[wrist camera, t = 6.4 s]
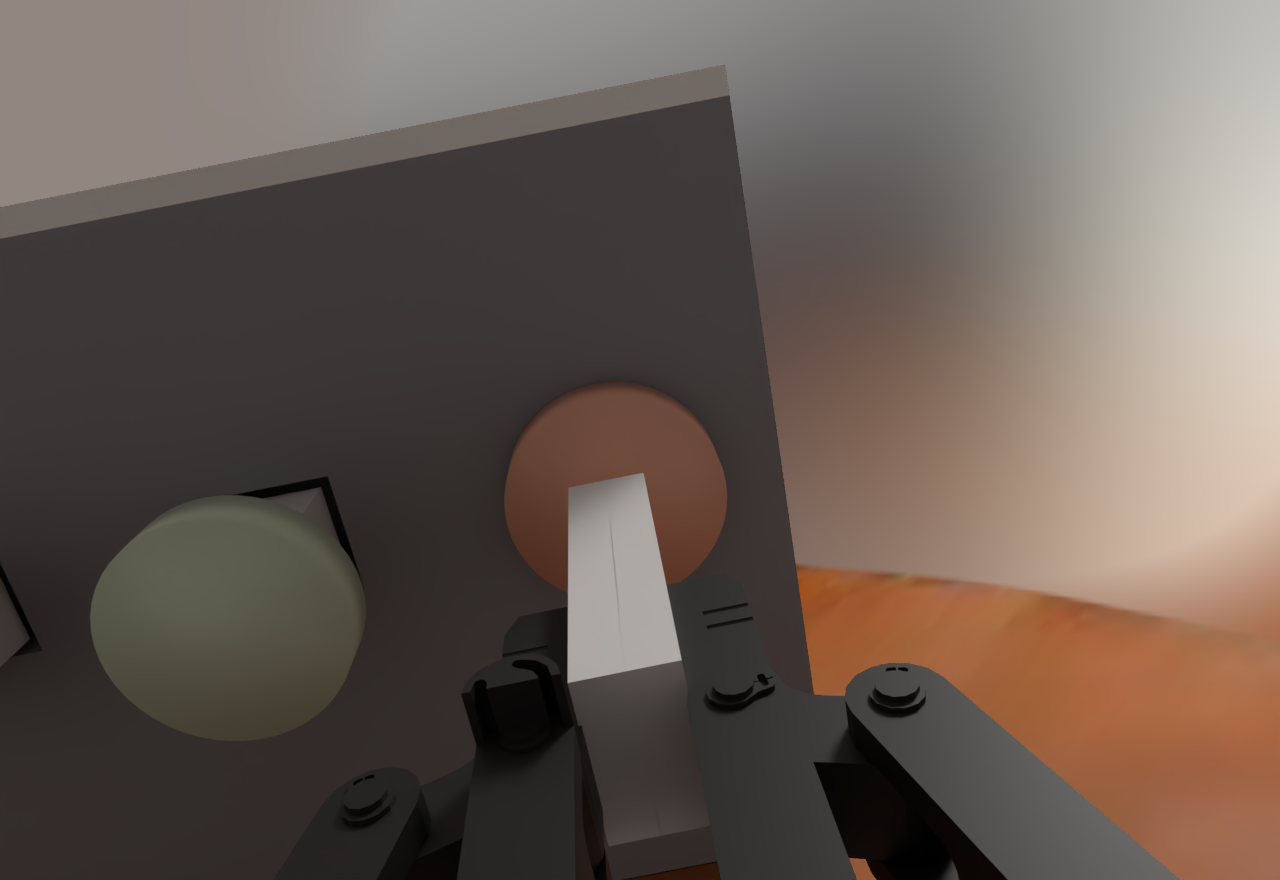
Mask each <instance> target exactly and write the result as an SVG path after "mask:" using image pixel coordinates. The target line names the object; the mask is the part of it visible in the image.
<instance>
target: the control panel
mask: <svg viewBox="0 0 1280 880" xmlns="http://www.w3.org/2000/svg"><path fill="white" fill-rule="evenodd" d="M602 382H629V383H637V384H641V385H645V386H649V387H652V388H654V389H657V390H659V391H662V392H664V393H666V394H668V395H669V396H671V397H673V398H675V399H676V400H678V401H679V402H680V403H682V404H683V405H684V406H686V407H687V408H688V409H689V410H690V411H691V412H692V413H693V414H694V415H695V416H696V417H697V419H698V420H699V421H700V422H701V424H702V425H703V426H704V428H705V430H706V431H707V433H708V435H709V437H710V438H711V441H712V443H713V446H714V448H715V451H716V453H717V456H718V458H719V461H720V463H721V466H722V468H723V472H724V476H725V480H726V487H727V509H726V515H725V520H724V524H723V527H722V530H721V532H720V535H719V537H718V539H717V541H716V543H715V545H714V547H713V549H712V550H711V552H710V553H709V554H708V556H707V557H706V559H705V560H704V561H703V562H702V563H701V564H700V565H699V567H698V568H697V569H696V570H694V571H693V572H692V573H691V574H690V575H689V576H688V577H686V578H685V579H684V580H682V581H687V580H692V579H697V578H702V577H707V576H712V575H717V574H722V573H725V574H726V575H727V576H729V577H730V578H732V579H733V580H734V581H736V582H737V583H739V584H740V585H741V586H742V588H743V591H744V594H745V596H746V599H747V602H748V606H749V607H750V610H751V613H752V616H753V620H754V621H755V624H756V627H757V629H758V632H759V635H760V638H761V640H762V643H763V646H764V649H765V651H766V654H767V657H768V660H769V662H770V665H771V668H772V670H773V671H774V672H776V673H777V674H778V676H779V677H780V678H781V680H782V681H783V682H784V684H785V685H786V686H788V687H790V688H792V689H795V690H797V691H800V692H804V693H808V694H813V695H814V692H813V685H812V678H811V671H810V664H809V656H808V649H807V642H806V635H805V628H804V621H803V614H802V607H801V600H800V593H799V586H798V578H797V571H796V564H795V558H794V551H793V543H792V536H791V529H790V522H789V515H788V507H787V501H786V493H785V487H784V479H783V472H782V465H781V458H780V451H779V444H778V437H777V429H776V422H775V415H774V408H773V401H772V394H771V387H770V380H769V374H768V366H767V359H766V351H765V344H764V337H763V330H762V323H761V316H760V309H759V302H758V295H757V288H756V280H755V274H754V266H753V259H752V252H751V245H750V238H749V231H748V224H747V217H746V210H745V202H744V196H743V189H742V181H741V174H740V167H739V160H738V153H737V146H736V139H735V131H734V125H733V118H732V111H731V104H730V96H729V89H728V82H727V75H726V68H725V65H721V66H716V67H710V68H705V69H701V70H695V71H691V72H685V73H680V74H675V75H670V76H665V77H660V78H655V79H650V80H644V81H639V82H634V83H629V84H624V85H619V86H615V87H609V88H604V89H599V90H594V91H589V92H584V93H579V94H574V95H569V96H563V97H558V98H553V99H548V100H543V101H538V102H533V103H528V104H523V105H518V106H512V107H507V108H502V109H497V110H492V111H488V112H482V113H477V114H472V115H467V116H462V117H457V118H452V119H446V120H442V121H436V122H432V123H427V124H422V125H416V126H411V127H406V128H401V129H396V130H391V131H385V132H380V133H375V134H370V135H365V136H361V137H355V138H351V139H345V140H340V141H335V142H330V143H325V144H319V145H314V146H310V147H304V148H300V149H294V150H290V151H284V152H279V153H274V154H269V155H264V156H259V157H253V158H248V159H243V160H238V161H233V162H229V163H223V164H218V165H213V166H208V167H203V168H198V169H193V170H187V171H182V172H178V173H172V174H168V175H162V176H157V177H152V178H147V179H142V180H137V181H132V182H127V183H121V184H116V185H111V186H106V187H101V188H96V189H91V190H86V191H81V192H76V193H71V194H66V195H61V196H56V197H50V198H46V199H40V200H35V201H30V202H26V203H20V204H15V205H10V206H5V207H0V577H1V579H2V582H3V584H4V586H5V588H6V590H7V592H8V594H9V596H10V598H11V600H12V602H13V604H14V606H15V608H16V610H17V613H18V615H19V617H20V619H21V621H22V623H23V625H24V627H25V629H26V631H27V633H28V635H29V637H30V639H29V640H28V641H27V642H26V643H25V644H24V645H23V646H22V647H21V648H20V649H19V650H18V651H17V652H16V653H15V654H14V655H13V656H11V657H10V658H9V659H8V660H7V661H6V662H5V663H4V664H3V665H2V666H1V667H0V880H273V879H274V878H275V876H276V875H277V873H278V872H279V870H280V869H281V867H282V865H283V864H284V862H285V861H286V859H287V858H288V856H289V855H290V853H291V852H292V850H293V849H294V847H295V846H296V844H297V842H298V841H299V839H300V838H301V836H302V835H303V833H304V832H305V830H306V829H307V827H308V826H309V824H310V822H311V821H312V819H313V818H314V816H315V815H316V813H317V812H318V810H319V809H320V807H321V806H322V804H323V803H324V802H325V801H326V800H327V799H328V798H329V796H330V795H331V794H332V793H333V792H334V791H335V790H336V789H338V788H339V787H340V786H342V785H343V784H345V783H346V782H348V781H349V780H351V779H352V778H354V777H357V776H359V775H361V774H364V773H366V772H369V771H371V770H376V769H382V768H387V767H395V768H403V769H407V770H409V771H410V772H412V773H413V774H415V775H416V776H417V777H418V780H419V783H420V786H422V785H424V784H427V783H429V782H431V781H434V780H436V779H438V778H441V777H443V776H445V775H447V774H449V773H451V772H453V771H455V770H457V769H459V768H461V767H462V766H464V765H465V764H467V763H468V762H469V761H471V760H472V759H473V758H474V757H475V751H476V743H475V739H474V736H473V733H472V729H471V726H470V723H469V719H468V716H467V713H466V709H465V706H464V703H463V699H462V696H461V692H462V690H463V688H464V686H465V684H466V682H467V681H468V680H469V679H470V678H471V677H472V676H473V675H474V674H475V673H476V672H478V671H479V670H480V669H482V668H484V667H486V666H488V665H489V664H491V663H493V662H495V661H498V660H501V659H502V658H503V656H502V652H503V644H504V636H505V634H506V633H507V632H508V630H509V629H510V628H511V626H512V625H513V624H514V622H515V621H516V620H517V618H518V617H519V616H524V615H529V614H534V613H539V612H544V611H548V610H553V609H558V608H563V607H568V593H567V592H565V591H563V590H561V589H559V588H557V587H555V586H553V585H552V584H550V583H549V582H547V581H546V580H544V579H543V578H542V577H541V576H540V575H538V574H537V573H536V572H535V571H534V570H533V569H532V568H531V567H530V566H529V565H528V564H527V562H526V561H525V560H524V559H523V557H522V556H521V554H520V553H519V551H518V550H517V548H516V546H515V544H514V542H513V540H512V538H511V535H510V532H509V529H508V526H507V521H506V516H505V506H504V495H505V486H506V480H507V475H508V470H509V465H510V461H511V457H512V453H513V450H514V448H515V445H516V443H517V440H518V439H519V437H520V435H521V433H522V432H523V430H524V428H525V427H526V426H527V424H528V423H529V422H530V421H531V419H532V418H533V417H534V416H535V415H536V414H537V413H538V412H539V411H540V410H541V409H542V408H543V407H545V406H546V405H547V404H549V403H550V402H551V401H553V400H554V399H556V398H558V397H559V396H561V395H563V394H565V393H567V392H569V391H572V390H574V389H576V388H579V387H582V386H586V385H590V384H594V383H602ZM319 487H321V488H322V491H323V494H324V497H325V500H326V503H327V506H328V509H329V512H330V515H331V518H332V521H333V524H334V527H335V530H336V533H337V536H338V539H339V542H340V545H341V546H342V548H343V549H344V550H345V552H346V553H347V554H348V556H349V557H350V559H351V561H352V562H353V564H354V566H355V568H356V570H357V572H358V575H359V577H360V579H361V582H362V586H363V590H364V594H365V601H366V623H365V628H364V633H363V637H362V639H361V642H360V645H359V647H358V650H357V652H356V655H355V657H354V660H353V662H352V665H351V667H350V669H349V672H348V674H347V677H346V679H345V681H344V683H343V685H342V687H341V688H340V690H339V692H338V693H337V695H336V696H335V697H334V699H333V700H332V701H331V702H330V704H329V705H328V706H327V707H325V708H324V709H323V710H322V711H321V712H320V713H319V714H318V715H316V716H315V717H314V718H312V719H311V720H309V721H308V722H306V723H305V724H303V725H301V726H299V727H297V728H295V729H293V730H290V731H288V732H285V733H283V734H280V735H276V736H272V737H269V738H265V739H258V740H250V741H223V740H213V739H208V738H202V737H198V736H194V735H191V734H187V733H184V732H181V731H179V730H176V729H174V728H171V727H169V726H167V725H165V724H163V723H161V722H159V721H157V720H156V719H154V718H152V717H151V716H149V715H148V714H146V713H145V712H143V711H142V710H140V709H139V708H138V707H137V706H135V705H134V704H133V703H132V702H131V701H130V700H128V699H127V698H126V697H125V696H124V695H123V694H122V692H121V691H120V690H119V689H118V688H117V687H116V686H115V684H114V683H113V682H112V680H111V679H110V678H109V676H108V675H107V673H106V671H105V670H104V668H103V666H102V664H101V662H100V660H99V658H98V655H97V652H96V650H95V647H94V643H93V639H92V634H91V624H90V613H91V603H92V599H93V595H94V591H95V588H96V586H97V584H98V581H99V579H100V577H101V575H102V573H103V572H104V570H105V569H106V567H107V566H108V564H109V563H110V562H111V561H112V560H113V559H114V558H115V556H116V555H117V554H118V553H119V552H120V551H121V550H122V549H123V548H124V547H125V546H126V545H127V544H128V543H129V542H130V541H132V540H133V539H134V538H135V537H136V536H137V535H138V534H139V533H140V532H141V531H142V530H143V529H144V528H145V527H146V526H147V525H148V524H149V523H151V522H152V521H153V520H155V519H156V518H157V517H158V516H160V515H161V514H163V513H165V512H166V511H168V510H170V509H172V508H173V507H176V506H178V505H181V504H183V503H186V502H188V501H192V500H196V499H200V498H204V497H211V496H219V495H240V496H249V497H256V498H261V499H263V498H268V497H273V496H278V495H283V494H288V493H293V492H299V491H304V490H309V489H314V488H319ZM682 581H681V582H682ZM604 846H605V851H606V855H607V859H608V863H609V867H610V871H611V875H612V880H623V879H628V878H634V877H639V876H644V875H649V874H654V873H659V872H664V871H669V870H675V869H680V868H685V867H690V866H695V865H700V864H705V863H710V862H716V861H717V857H716V852H715V847H714V841H713V836H712V831H711V826H707V827H702V828H697V829H692V830H687V831H682V832H677V833H672V834H667V835H663V836H658V837H653V838H648V839H643V840H638V841H633V842H628V843H623V844H618V845H613V846H609V845H608V842H607V838H606V834H605V830H604Z"/></svg>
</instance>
